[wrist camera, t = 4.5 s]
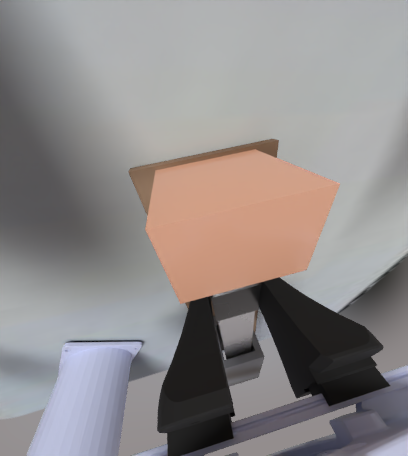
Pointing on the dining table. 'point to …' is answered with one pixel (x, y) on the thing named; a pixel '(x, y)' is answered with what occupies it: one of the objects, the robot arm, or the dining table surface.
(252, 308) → the grey banded bar
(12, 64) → the dining table surface
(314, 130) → the dining table surface
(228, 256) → the peach-orange block
